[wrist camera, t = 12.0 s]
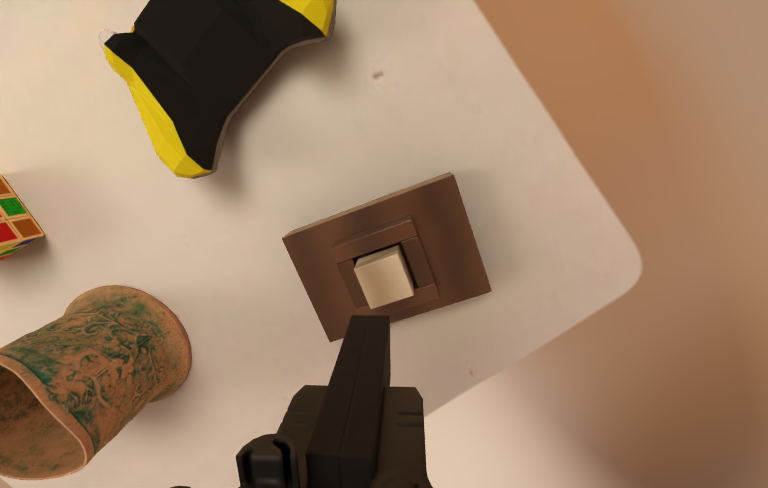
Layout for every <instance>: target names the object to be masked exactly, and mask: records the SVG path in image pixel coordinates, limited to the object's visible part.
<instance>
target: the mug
mask: <svg viewBox="0 0 768 488" xmlns="http://www.w3.org/2000/svg"><path fill="white" fill-rule="evenodd" d="M190 364H191V348H190V343H189V340H188V337H187V334H186V332H185V330H184V328H183V326H182V325H181V323H180V321H179V320H178V319H177V317H176V316H175V315H174V314H173V313H172V312H171V311H170V310H169V309H168V308H167V307H166V306H165V305H164V304H163V303H161V302H160V301H158V300H157V299H155V298H154V297H152V296H150V295H149V294H147V293H144V292H142V291H139V290H137V289H133V288H129V287H124V286H103V287H99V288H95V289H92V290H90V291H88V292H85V293H83V294H82V295H80V296H79V297H77V298H76V299H75V300H74V301H73V302H72V303H71V304H70V305H69V307H68V308H67V310H66V311H65V314H64V316H62V317H61V318H59V319H57V320H55V321H53V322H51V323H49V324H47V325H45V326H44V327H42V328H40V329H38V330H36V331H34V332H31V333H29V334H26V335H24V336H23V337H21V338H19V339H17V340H15V341H14V342H12V343H10V344H8V345H6V346H4V347H2V348H1V349H0V475H1V476H4V477H8V478H13V479H20V480H44V479H52V478H57V477H62V476H66V475H69V474H72V473H75V472H77V471H79V470H81V469H82V468H83V467H85V466H86V465H87V464H88V462H89V461H90V460H91V459H92V458H93V457H94V456H95V454H96V453H97V452H98V451H100V450H101V449H102V448H103V447H104V446H105V445H106V444H107V443H108V442H109V441H111V440H112V439H113V438H114V437H115V436H116V435H117V434H118V433H119V432H120V431H121V430H122V429H123V427H124V426H125V425H126V424H127V423H128V422H130V421H131V420H132V419H133V418H134V417H135V416H136V415H137V414H138V413H139V412H140V411H141V410H142V409H143V408H144V406H145V405H146V404H147V403H151V402H156V401H159V400H162V399H164V398H166V397H168V396H169V395H171V394H172V393H173V392H174V391H176V390H177V389H178V387H179V386H180V385H181V384H182V383H183V381H184V380H185V378H186V376H187V374H188V372H189V369H190Z"/></svg>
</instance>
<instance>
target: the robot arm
mask: <svg viewBox="0 0 768 488" xmlns="http://www.w3.org/2000/svg"><path fill="white" fill-rule="evenodd" d="M390 376H391V373H390V316H388V315H352V316H351V319H350V322H349V325H348V328H347V331H346V334H345V337H344V340H343V343H342V346H341V349H340V352H339V355H338V358H337V361H336V364H335V367H334V370H333V373H332V376H331V379H330V382H329V385H328V386H317V385H305V386H304V387H302V388H301V389H300V390H299V391H298V392H297V393H296V394H295V395H294V396H293V398H292V400H291V403H290V405H289V407H288V411H287V412H286V414H285V416H284V418H283V422H282V423H281V425H280V427H279V429H278V431H277V433H276V434H268V435H263V436H261V437H258V438H256V439H253V440H252V441H250V442H249V443H248V444H246V445H245V446H244V447H243V448H242V449H241V450H240V451H239V453H238V454H237V455H236V461H237V467H238V473H239V479H240V485H241V486H240V487H239V488H433V487H432V486H431V484H430V482H429V480H428V477H427V472H426V454H425V434H424V415H423V399H422V397H421V395H420V394H419V392H418V391H417V389H416V387H390ZM171 488H190V487H187V486H175V487H171Z"/></svg>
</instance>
